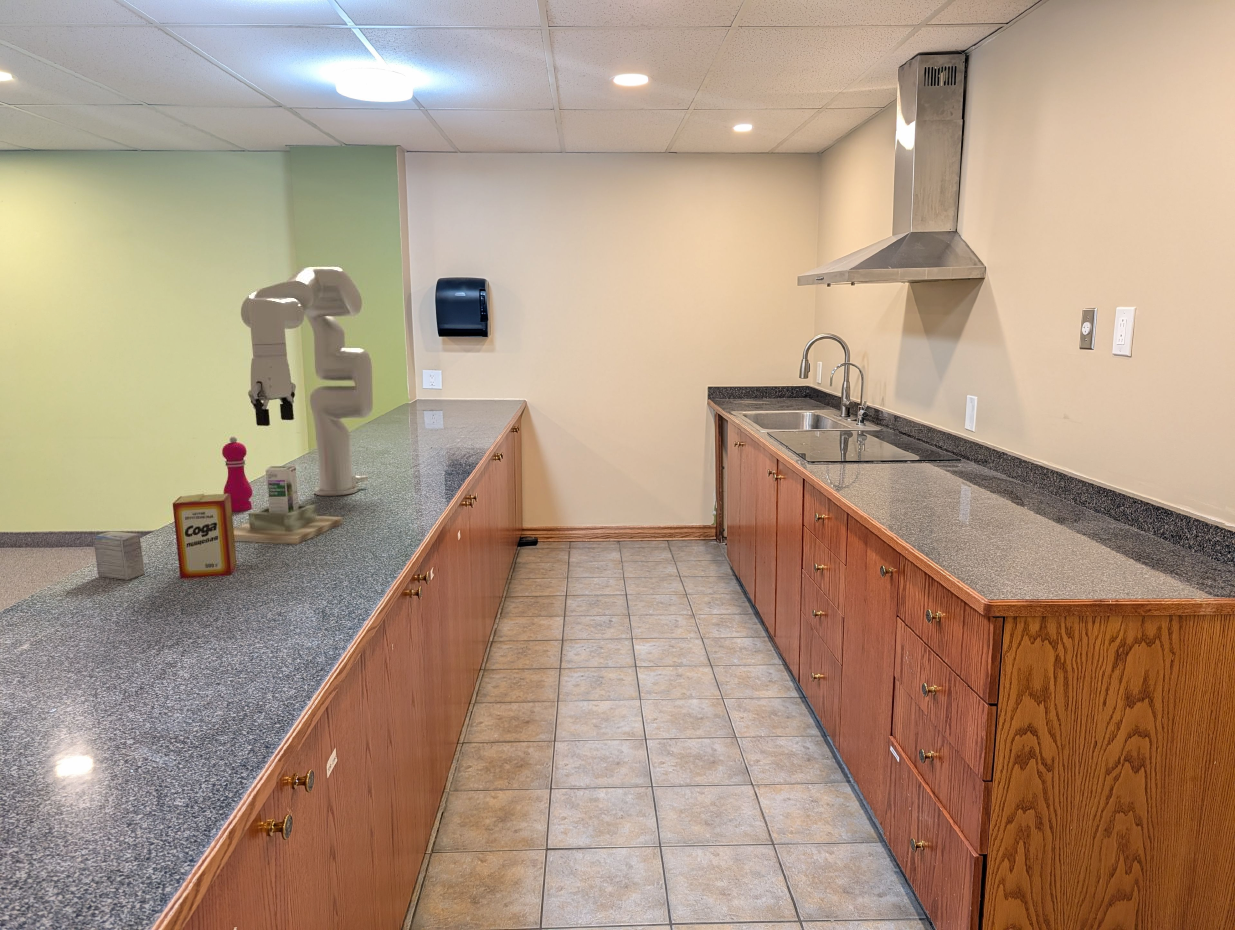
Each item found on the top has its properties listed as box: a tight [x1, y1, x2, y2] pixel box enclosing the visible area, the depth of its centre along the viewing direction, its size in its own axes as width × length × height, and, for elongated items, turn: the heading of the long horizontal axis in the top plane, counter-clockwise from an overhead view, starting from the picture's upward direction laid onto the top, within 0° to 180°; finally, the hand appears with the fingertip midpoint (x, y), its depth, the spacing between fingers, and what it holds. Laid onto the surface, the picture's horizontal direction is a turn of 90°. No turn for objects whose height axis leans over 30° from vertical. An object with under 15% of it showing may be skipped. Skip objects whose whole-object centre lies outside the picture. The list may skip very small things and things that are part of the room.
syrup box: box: [265, 464, 299, 514], centre depth 204 cm, size 6×6×14 cm
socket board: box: [233, 503, 344, 545], centre depth 204 cm, size 20×20×6 cm
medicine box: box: [92, 530, 145, 581], centre depth 170 cm, size 8×4×9 cm, turn 71°
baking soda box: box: [172, 493, 238, 580], centre depth 171 cm, size 10×6×16 cm
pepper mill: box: [221, 436, 253, 512], centre depth 226 cm, size 7×7×20 cm
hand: (275, 422), depth 202 cm, fingers open, 9 cm apart
